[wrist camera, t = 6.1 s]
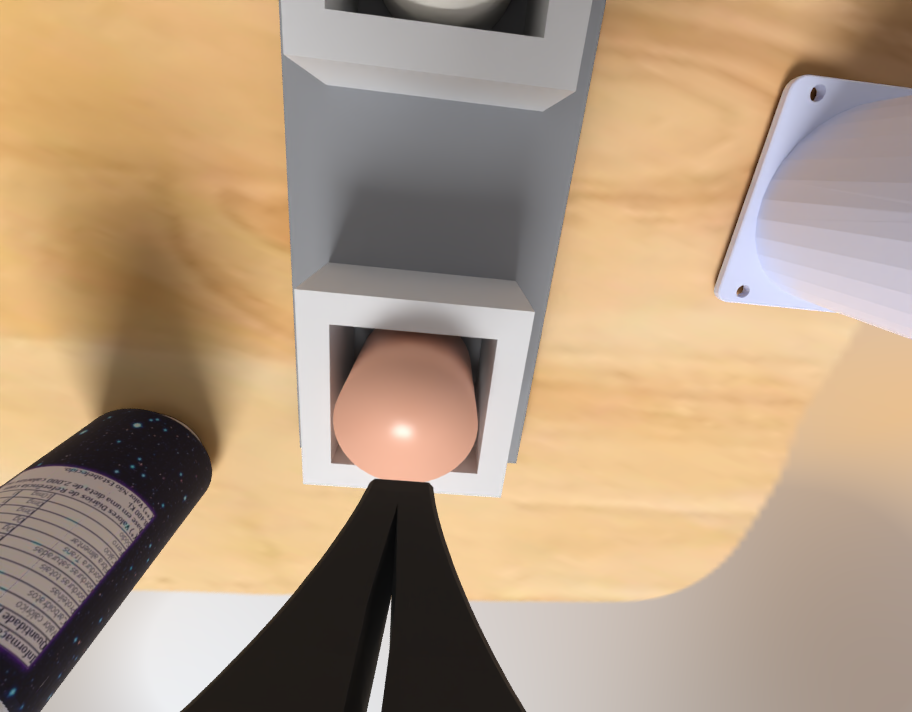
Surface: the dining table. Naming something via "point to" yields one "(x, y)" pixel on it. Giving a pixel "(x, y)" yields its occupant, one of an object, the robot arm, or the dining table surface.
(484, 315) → the plug panel
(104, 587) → the beverage can
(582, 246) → the dining table surface
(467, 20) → the cream plug
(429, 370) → the terracotta plug
